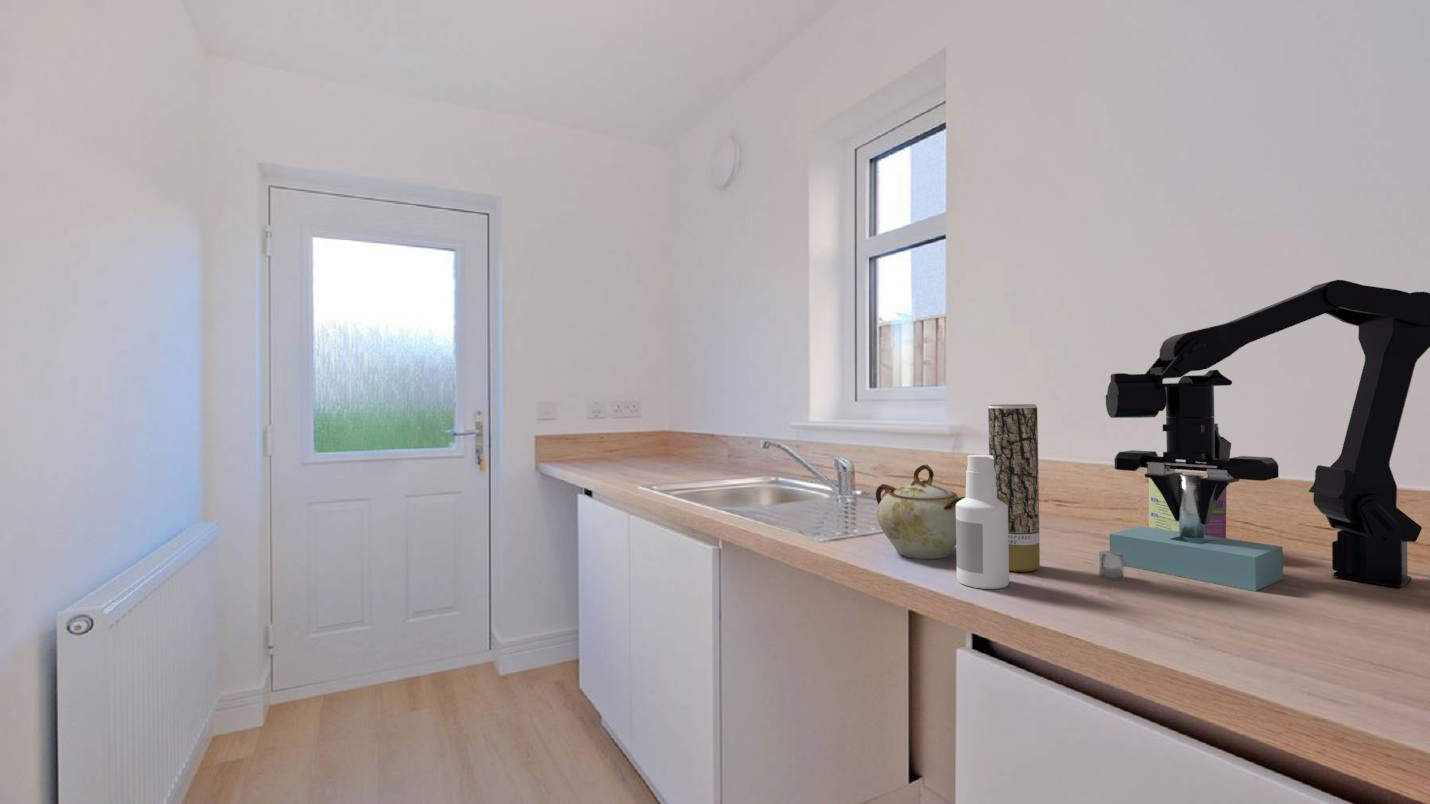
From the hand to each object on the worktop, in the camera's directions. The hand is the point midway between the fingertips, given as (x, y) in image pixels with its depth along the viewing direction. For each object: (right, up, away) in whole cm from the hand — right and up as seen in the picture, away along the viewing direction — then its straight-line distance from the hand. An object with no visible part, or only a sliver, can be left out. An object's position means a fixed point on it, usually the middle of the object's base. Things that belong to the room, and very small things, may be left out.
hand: (1191, 522), depth 93 cm
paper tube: (-25, -8, +3) cm, 26 cm away
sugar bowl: (-35, -8, +13) cm, 39 cm away
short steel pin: (-14, -7, -3) cm, 16 cm away
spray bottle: (-33, -8, -4) cm, 34 cm away
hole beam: (0, -7, 0) cm, 7 cm away
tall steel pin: (0, -2, 0) cm, 2 cm away
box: (+9, -7, +13) cm, 17 cm away
